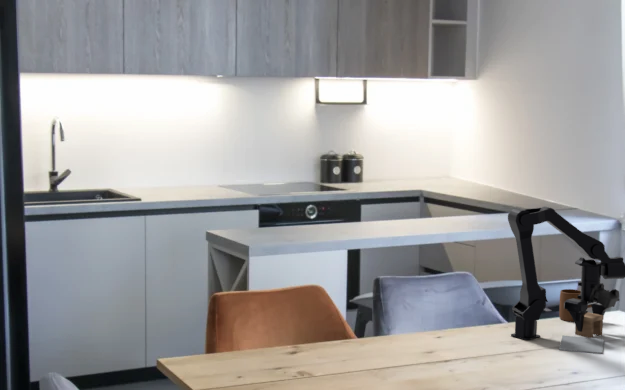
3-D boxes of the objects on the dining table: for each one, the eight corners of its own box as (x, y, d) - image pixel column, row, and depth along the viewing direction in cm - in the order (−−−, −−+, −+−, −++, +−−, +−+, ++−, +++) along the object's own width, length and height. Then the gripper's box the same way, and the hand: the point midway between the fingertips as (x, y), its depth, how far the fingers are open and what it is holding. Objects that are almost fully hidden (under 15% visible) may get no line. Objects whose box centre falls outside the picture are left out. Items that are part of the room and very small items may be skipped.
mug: (594, 317, 309) (595, 289, 308) (598, 323, 301) (599, 294, 300) (557, 316, 310) (558, 288, 309) (560, 321, 303) (561, 293, 302)
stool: (591, 338, 282) (592, 318, 281) (574, 334, 286) (575, 314, 286) (602, 335, 286) (603, 315, 285) (586, 331, 290) (586, 311, 290)
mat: (602, 353, 264) (602, 352, 264) (559, 349, 268) (559, 348, 268) (603, 340, 280) (603, 338, 280) (562, 336, 283) (562, 335, 283)
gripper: (595, 287, 272) (593, 339, 274) (631, 280, 284) (629, 330, 285) (563, 281, 281) (561, 331, 282) (600, 274, 292) (598, 323, 294)
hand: (588, 329), depth 286 cm, fingers open, 9 cm apart
